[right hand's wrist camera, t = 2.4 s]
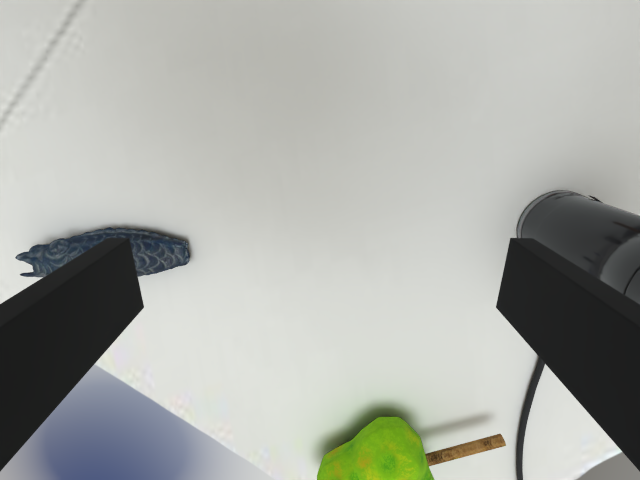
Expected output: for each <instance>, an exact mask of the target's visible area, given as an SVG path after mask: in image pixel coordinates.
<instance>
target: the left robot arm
mask: <svg viewBox="0 0 640 480" xmlns="http://www.w3.org/2000/svg"><path fill="white" fill-rule="evenodd" d="M590 197H592V196H590ZM592 198H593V199H594V200H592V199H590V198H588V197H585V196H582V195H580V194H578V193H575V192H571V191H564V190H561V191H554V192H550V193H547V194H545V195H543V196H541V197H539V198H538V199H536V200H535V201H534V202H532V203H531V204H530V205H529V206H528V207H527V209H526V210H525V211H524V213H523V214H522V216H521V218H520V221H519V224H518V228H517V236H518V238H533V239H535V240H537V241H538V242H540V243H542V244H543V245H545V246H546V247H548V248H550V249H551V250H553V251H554V252H556V253H558V254H559V255H561V256H563V257H564V258H566V259H567V260H569V261H571V262H572V263H574V264H575V265H577V266H579V267H580V268H582V269H584V270H585V271H587V272H588V273H590V274H592V275H593V276H595V277H596V278H598V279H600V280H601V281H603V282H605V283H606V284H608V285H609V286H611V287H613V288H614V289H616V290H617V291H619V292H621V293H622V294H624V295H626V296H627V297H629V298H630V299H632V300H634V301H635V302H637V303H638V304H640V216H639V215H636V214H633V213H631V212H628V211H625V210H622V209H619V208H616V207H613V206H610V205H607V204H604V203H602V202H601V201H599V200H598V199H596V198H595V197H592ZM595 200H596V201H595ZM544 365H545V363H544V361H543V360H542V359H541V358H540V357H539V361H538V364H537V367H536V370H535V373H534V376H533V378H532V381H531V384H530V387H529V391H528V394H527V398H526V401H525V405H524V409H523V413H522V417H521V422H520V428H519V434H518V443H517V479H518V480H523V474H522V457H523V443H524V436H525V430H526V425H527V420H528V416H529V412H530V408H531V405H532V401H533V397H534V394H535V391H536V387H537V385H538V382H539V379H540V376H541V374H542V371H543V368H544Z"/></svg>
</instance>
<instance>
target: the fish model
mask: <svg viewBox="0 0 640 480" xmlns="http://www.w3.org/2000/svg"><path fill="white" fill-rule="evenodd" d="M107 238H130V243H131V248H132V253H133V258H134V262H135V267H136V272H137V276H143V275H150V274H155V273H158V272H162V271H165V270H168V269H173V268H175V267H178V266H183V265H186V264H188V262H189V258H190V255H189V251H188V249H187V248H188V243H187V242H186V241H183V240H177V239H176V238H174V239H172V238H169V237H167V236H165V235H163V236H161V235H159V234H157V233H155V232H147V231H145V230H138V231H137V230H134V229H128V230H127V229H124V228H117V229H113V228H107V229H104V230H101V229H99V230H96V231H94V232H86V233H84V234H82V235H78V236H73V237H71V238H68V239H58V240H55V241H53V242H51V243H50V244H46V245H35V246H33V247H32V248H31V249H30V250H29V252H23V253H21V254H18V255H17V256H16V257H15V258H16V259H18V260H20V261H25V262H26V263H29V264H31V265H32V266H33V270H34V272H30V273H22V274H20V275H21V276H26V277H45V276H47V275H48V274H50V273H52V272H53V271H55V270H56V269H58V268H60V267H61V266H63V265H65V264H66V263H68V262H69V261H71V260H73V259H74V258H76V257H77V256H79V255H81V254H82V253H84V252H86V251H87V250H89V249H90V248H92V247H94V246H95V245H97V244H98V243H100V242H102V241H103V240H105V239H107Z"/></svg>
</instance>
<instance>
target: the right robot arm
mask: <svg viewBox="0 0 640 480" xmlns="http://www.w3.org/2000/svg"><path fill="white" fill-rule="evenodd" d="M143 308H144V305H143V301H142V296H141V291H140V286H139V281H138V277H137V272H136V267H135V262H134V258H133V253H132V248H131V243H130V238H107V239H105V240H103V241H102V242H100V243H98V244H97V245H95V246H94V247H92V248H90V249H89V250H87V251H86V252H84V253H82V254H81V255H79V256H77V257H76V258H74V259H73V260H71V261H69V262H68V263H66V264H65V265H63V266H61V267H60V268H58V269H56V270H55V271H53V272H52V273H50V274H48V275H47V276H45V277H44V278H42V279H40V280H39V281H37V282H35V283H34V284H32V285H31V286H29V287H27V288H26V289H24V290H23V291H21V292H19V293H18V294H16V295H14V296H13V297H11V298H10V299H8V300H6V301H5V302H3V303H2V304H0V471H1V470H2V469H3V468H4V466H5V465H6V464H7V463H8V462H9V461H10V460H11V458H12V457H13V456H14V455H15V454H16V453H17V452H18V450H19V449H20V448H21V447H22V446H23V445H24V444H25V442H26V441H27V440H28V439H29V438H30V437H31V436H32V434H33V433H34V432H35V431H36V430H37V429H38V428H39V426H40V425H41V424H42V423H43V422H44V421H45V420H46V418H47V417H48V416H49V415H50V414H51V413H52V412H53V410H54V409H55V408H56V407H57V406H58V405H59V404H60V403H61V401H62V400H63V399H64V398H65V397H66V396H67V394H68V393H69V392H70V391H71V390H72V389H73V388H74V386H75V385H76V384H77V383H78V382H79V381H80V380H81V378H82V377H83V376H84V375H85V374H86V373H87V372H88V371H89V369H90V368H91V367H92V366H93V365H94V364H95V363H96V361H97V360H98V359H99V358H100V357H101V356H102V355H103V353H104V352H105V351H106V350H107V349H108V348H109V347H110V345H111V344H112V343H113V342H114V341H115V340H116V339H117V337H118V336H119V335H120V334H121V333H122V332H123V331H124V329H125V328H126V327H127V326H128V325H129V324H130V323H131V321H132V320H133V319H134V318H135V317H136V316H137V315H138V313H139V312H140V311H141V310H142V309H143ZM496 308H497V309H498V310H499V311H500V312H501V313H502V315H503V316H504V317H505V318H506V319H507V320H508V321H509V323H510V324H511V325H512V326H513V327H514V328H515V329H516V331H517V332H518V333H519V334H520V335H521V336H522V337H523V339H524V340H525V341H526V342H527V343H528V344H529V345H530V347H531V348H532V349H533V350H534V351H535V352H536V353H537V355H538V356H539V357H540V358H541V359H542V360H543V361H544V363H545V364H546V365H547V366H548V367H549V368H550V369H551V371H552V372H553V373H554V374H555V375H556V376H557V377H558V379H559V380H560V381H561V382H562V383H563V384H564V385H565V387H566V388H567V389H568V390H569V391H570V392H571V393H572V395H573V396H574V397H575V398H576V399H577V400H578V401H579V403H580V404H581V405H582V406H583V407H584V408H585V409H586V410H587V412H588V413H589V414H590V415H591V416H592V417H593V418H594V420H595V421H596V422H597V423H598V424H599V425H600V426H601V428H602V429H603V430H604V431H605V432H606V433H607V434H608V436H609V437H610V438H611V439H612V440H613V441H614V442H615V444H616V445H617V446H618V447H619V448H620V449H621V450H622V452H623V453H624V454H625V455H626V456H627V457H628V458H629V460H630V461H631V462H632V463H633V464H634V465H635V466H636V467H637V469H638V470H639V471H640V304H638V303H637V302H635V301H634V300H632V299H630V298H629V297H627V296H626V295H624V294H622V293H621V292H619V291H617V290H616V289H614V288H613V287H611V286H609V285H608V284H606V283H605V282H603V281H601V280H600V279H598V278H596V277H595V276H593V275H592V274H590V273H588V272H587V271H585V270H584V269H582V268H580V267H579V266H577V265H575V264H574V263H572V262H571V261H569V260H567V259H566V258H564V257H563V256H561V255H559V254H558V253H556V252H554V251H553V250H551V249H550V248H548V247H546V246H545V245H543V244H542V243H540V242H538V241H537V240H535V239H533V238H510V243H509V248H508V253H507V257H506V262H505V267H504V272H503V277H502V281H501V286H500V291H499V296H498V301H497V305H496Z"/></svg>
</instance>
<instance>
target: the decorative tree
mask: <svg viewBox="0 0 640 480" xmlns="http://www.w3.org/2000/svg"><path fill="white" fill-rule="evenodd" d="M503 446H506V444H505V441H504V439H503V437H502V435H501V434H497V435H494V436H490V437H486V438H483V439H479V440H475V441H472V442H468V443H464V444H461V445H457V446H453V447H450V448H446V449H442V450H438V451H435V452H431V453H427V454H425V452H424V449H423V445H422V442H421V439H420V437H419V435H418V434H417V433H416V432H415V431H414V430H413V429H412V428H411V427H410V426H409V425H408V424H407V423H406V422H405V421H404V420H403V419H401V418H400V417H378V418H377V419H375V420H374V421H372V422H371V423H370V424H368V425H367V426H366V427H364V428H363V429H362V430H361V431H360V432H359V433H358V434H357V435H356V436H355V437H354V438H353V439H352V440H351V441H349V442H347V443H345V444H342V445H341V446H339V447H337V448H335V449H334V450H332V451H330V452H329V453H327V454H326V455H324V457H323V459H322V462H321V465H320V468H319V471H318V475H317V480H434V478H433V476H432V474H431V471H430V469H429V466H432V465H435V464H439V463H443V462H446V461H450V460H454V459H458V458H461V457H465V456H469V455H473V454H476V453H480V452H484V451H488V450H491V449H495V448H499V447H503Z"/></svg>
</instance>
